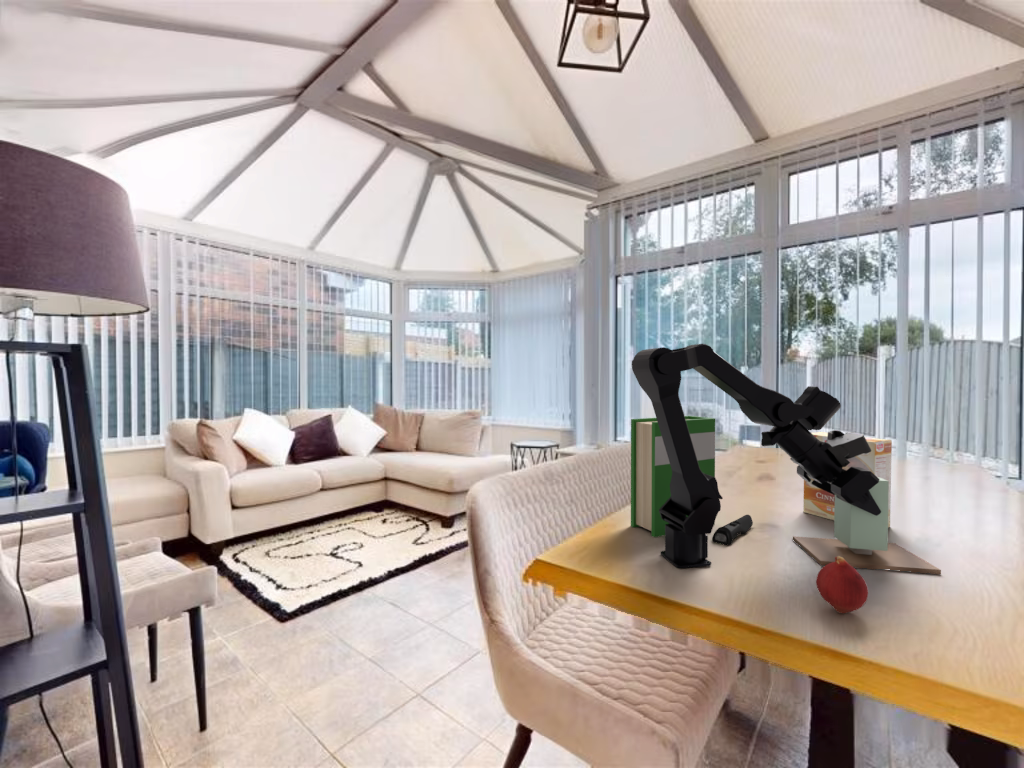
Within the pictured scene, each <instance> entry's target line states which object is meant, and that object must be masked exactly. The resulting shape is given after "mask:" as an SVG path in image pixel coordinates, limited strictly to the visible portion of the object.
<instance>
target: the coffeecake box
mask: <svg viewBox="0 0 1024 768" xmlns="http://www.w3.org/2000/svg"><path fill="white" fill-rule="evenodd" d="M811 433H812V434H813V435H814V436H815V437H816V438H817V439H818V440H820V441H821V442H827V441H826V440H827V438H828V432H824V431H817V432H811ZM864 437H865V439H866V441H867V443H868V445H869V447H870V448H871V452H869V453H867V454H865V453H863V454H861V455H858V456H855V457H853V458H850V459H847V460H848V461H849V462H850V463H849V464H848V465H847V466H846V467H842V469H844V470H848V469H849V468H850V467H860V468H863V469H866V470H869V471H871V472H872V473H873V474H874V475H875V476H877V477H879V478H882V479H885V480H887V481H889V491H888V528H890V527H891V507H892V506H891V503H892V502H891V501H892V499H891V498H892V495H891V494H892V491H891V490H892V452H893V451H892V448H893V447H892V445H893V443H892V441H893V440H892V439H886V438H885V439H884V438H876V437H875V438H874V437H867V436H864ZM809 478H810V477H809ZM810 479H811V478H810ZM813 481H814V480H813V479H811V481H810V482H807V481H806V480H804V479H803V511H802V512H803V513H806V514H809V515H813V516H817V517H820V518H824V519H828V520H831V521H834V513H835V495H833V494H831V493H829V492H826V491H824V490H822V489H820V488H818V487H816V486H814V485H812V484H811V483H812V482H813Z"/></svg>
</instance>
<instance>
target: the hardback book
mask: <svg viewBox="0 0 1024 768" xmlns="http://www.w3.org/2000/svg"><path fill="white" fill-rule="evenodd" d="M684 416H685V419H686V423H687V426H688V429H689V433H690V436H691V440H692V443H693V447H694V450H695V453H696V457H697V460H698V464H699V467H700V469H701V471H702V472H703V473H704V474H707V475H710V476H713V477H715V478H716V418H715V417H704V416H696V415H684ZM671 477H672V469H671V466H670V462H669V459H668V455H667V452H666V449H665V445H664V442H663V439H662V435H661V432H660V428H659V425H658V422H657V418H656V417H646V418H645V417H644V418H631V419H630V527H631V528H639V527H641V528H643V529H646V530H648V531H650V532H651V535H650V536H651V537H653V538H659V537H663V536H662V535H664V536H665V524H669V523H668V522H666V521H664V520H662V519H661V516H660V513H659V509H660V508H661V507H662V506H663V505H664V503H665V502H666V501H667V500H668V499H669V498H670V497H671V492H670V482H671ZM686 517H688V516H687V515H686ZM715 523H716V521H715V522H714V525H713V526H715ZM658 536H659V537H658Z"/></svg>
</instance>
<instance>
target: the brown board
mask: <svg viewBox="0 0 1024 768" xmlns="http://www.w3.org/2000/svg"><path fill="white" fill-rule="evenodd" d="M793 540H794V541H795V542H796V543H797V544H798V546H799V545H800V546H801V547H802V548H803V549H804V550H805V551H806V552H807V553H806V552H805V551H804V550H803V549H802V548H801V547H800V546H799V547H800V548H801V549H802V550H803V551H804V552H805V553H806V554H808V555H809V556H810V557H811V558H812V557H813V558H814V559H815V560H816V561H815V560H814V559H813V558H812V559H813V560H814V561H815V562H817V564H819V565H820V566H824V565H827V564H829V563H832V562H835V561H836V559H835V557H838V556H840V557H843V558H844V559H845V561H846V562H847V563H848V564H850V565H851V566H852V567H856V568H855V569H862V568H867V569H866V570H875V569H890V570H900V571H899V572H901V571H911V572H910V573H914V572H920V573H919V574H926V573H931V574H930V575H939V574H942V569H940V568H939V567H937V566H935V565H933V564H932V563H930V562H927V561H926V560H925V559H923V558H921V557H920V556H918V555H916V554H914V553H913V552H910V550H907V548H904V547H903V546H901V545H899V544H897V543H896V542H888V551H883V550H869V549H855V548H850V547H848V546H847V545H845V544H844V543H842V542H841V541H840V540H838V539H837V538H822V537H809V536H808V537H807V536H794V535H793V536H792V541H793ZM794 541H793V542H794ZM795 542H794V543H795ZM796 543H795V544H796Z"/></svg>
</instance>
